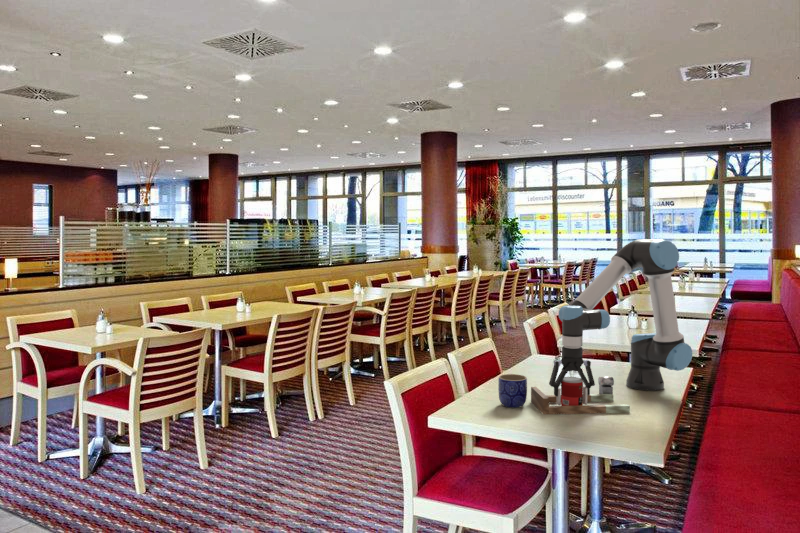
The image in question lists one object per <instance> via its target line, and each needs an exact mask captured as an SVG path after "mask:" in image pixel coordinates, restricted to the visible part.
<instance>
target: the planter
mask: <svg viewBox="0 0 800 533" xmlns="http://www.w3.org/2000/svg"><path fill="white" fill-rule="evenodd" d="M497 382H498V383H497V384H498V386H497V387H498V391H497V392H498V398H499V402H500V404H501V405H502V406H503V407H506V408H510V409H518V408H521V407H523V406H524V405H525V403H526V402H527V394H528V378H527V376H525V375H523V374H513V373H506V374H501V375H499V376H498V380H497Z"/></svg>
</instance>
